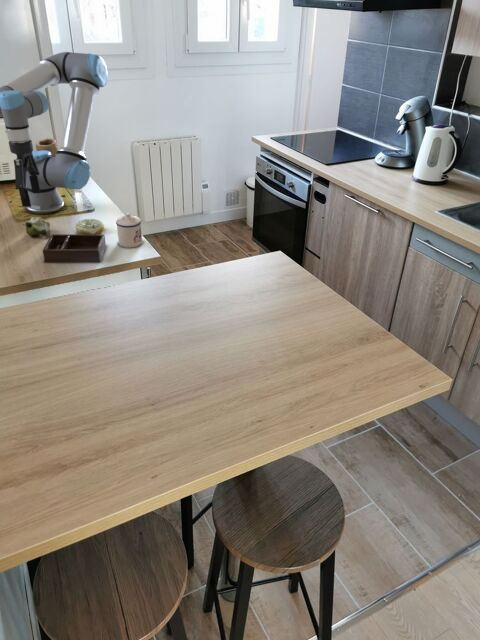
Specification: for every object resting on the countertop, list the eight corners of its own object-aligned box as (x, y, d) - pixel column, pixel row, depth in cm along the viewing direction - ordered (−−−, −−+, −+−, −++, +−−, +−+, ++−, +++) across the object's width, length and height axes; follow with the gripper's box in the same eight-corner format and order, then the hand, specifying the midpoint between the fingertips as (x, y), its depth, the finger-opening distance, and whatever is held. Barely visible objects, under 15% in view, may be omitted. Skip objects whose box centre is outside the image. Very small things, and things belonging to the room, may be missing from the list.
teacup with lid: (138, 249, 189) (136, 219, 183) (114, 247, 190) (111, 217, 184) (147, 235, 199) (145, 207, 193) (125, 233, 200) (122, 205, 194)
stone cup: (39, 174, 255) (33, 143, 246) (37, 167, 264) (32, 137, 255) (71, 171, 259) (66, 141, 251) (68, 164, 269) (64, 135, 260)
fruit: (31, 244, 193) (22, 224, 188) (28, 236, 200) (19, 217, 196) (55, 236, 195) (47, 216, 191) (51, 228, 203) (43, 209, 198)
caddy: (53, 245, 190) (51, 234, 187) (105, 245, 191) (104, 234, 188) (44, 262, 179) (42, 250, 176) (100, 262, 180) (98, 250, 178)
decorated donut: (96, 238, 196) (95, 229, 194) (71, 234, 198) (69, 225, 196) (109, 227, 204) (107, 219, 202) (84, 224, 206) (83, 215, 204)
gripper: (19, 130, 187) (30, 187, 199) (-3, 150, 166) (11, 212, 178) (40, 131, 188) (50, 187, 200) (20, 150, 167) (33, 212, 179)
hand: (31, 199), depth 189 cm, fingers open, 13 cm apart
